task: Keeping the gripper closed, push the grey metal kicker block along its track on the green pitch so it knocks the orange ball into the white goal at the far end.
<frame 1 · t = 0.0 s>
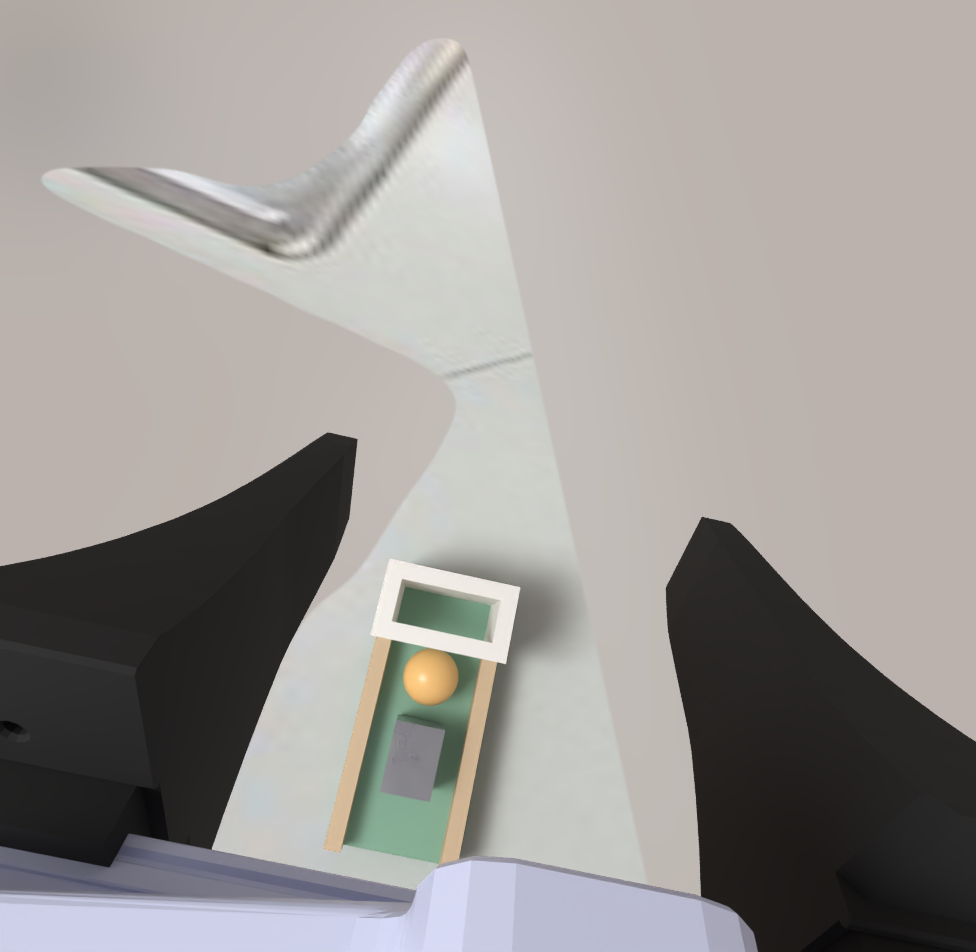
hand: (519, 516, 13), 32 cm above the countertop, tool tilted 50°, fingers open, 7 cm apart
ball: (430, 676, 40), point 3 cm above the countertop, touching pitch
kicker: (413, 756, 39), point 3 cm above the countertop, slide at 0.0 cm
pitch: (422, 708, 42), on the countertop
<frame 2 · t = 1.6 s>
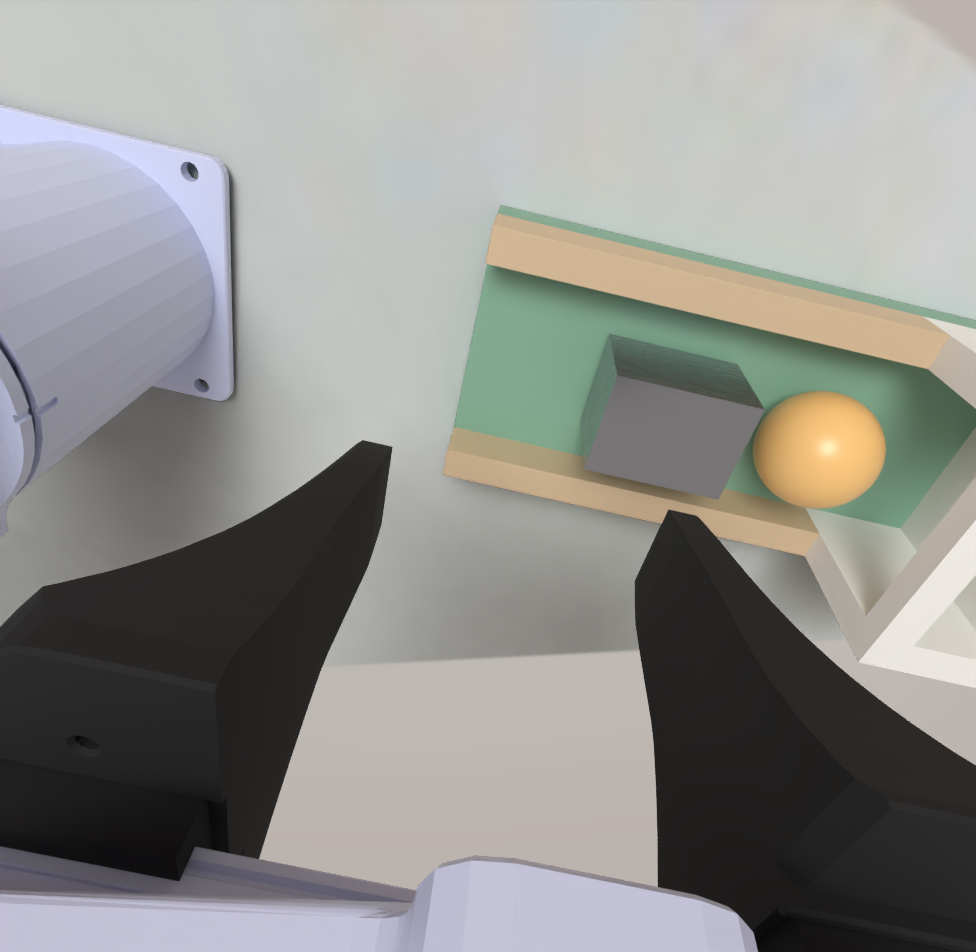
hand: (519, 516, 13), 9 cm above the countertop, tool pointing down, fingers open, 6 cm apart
ball: (816, 450, 19), point 3 cm above the countertop, touching pitch
kicker: (662, 415, 18), point 3 cm above the countertop, slide at 0.0 cm
pitch: (722, 389, 21), on the countertop
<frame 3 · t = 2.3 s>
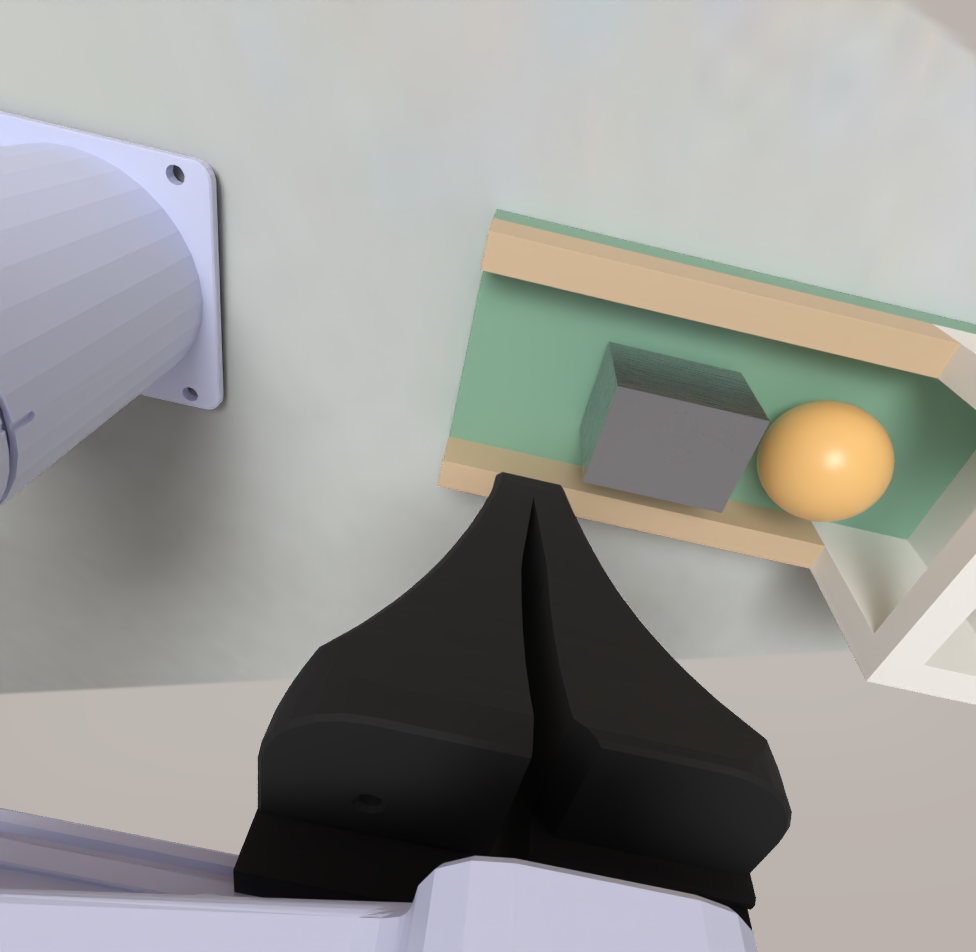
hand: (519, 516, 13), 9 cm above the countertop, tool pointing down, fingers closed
ball: (822, 461, 18), point 3 cm above the countertop, touching pitch
kicker: (664, 425, 18), point 3 cm above the countertop, slide at 0.0 cm
pitch: (724, 398, 20), on the countertop
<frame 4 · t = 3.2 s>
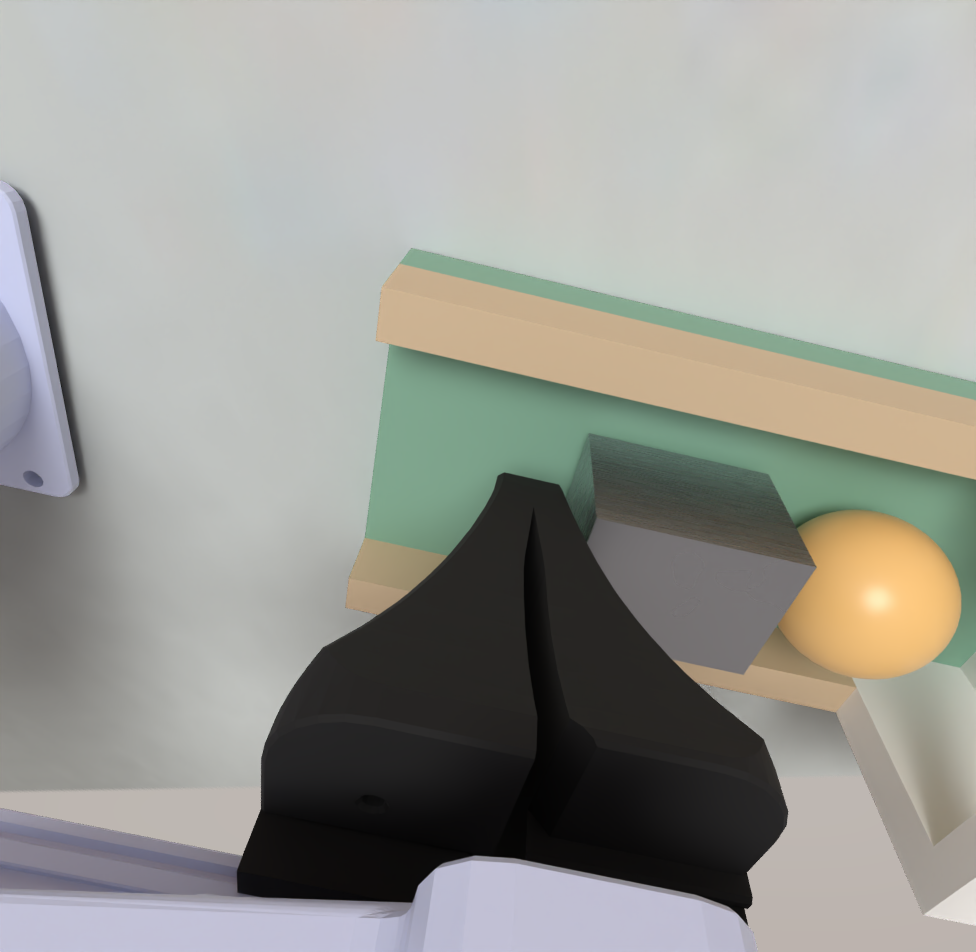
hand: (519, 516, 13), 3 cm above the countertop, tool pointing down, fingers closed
ball: (857, 592, 13), point 3 cm above the countertop, touching pitch
kicker: (664, 550, 13), point 3 cm above the countertop, slide at 0.5 cm, touching gripper
pitch: (724, 489, 16), on the countertop
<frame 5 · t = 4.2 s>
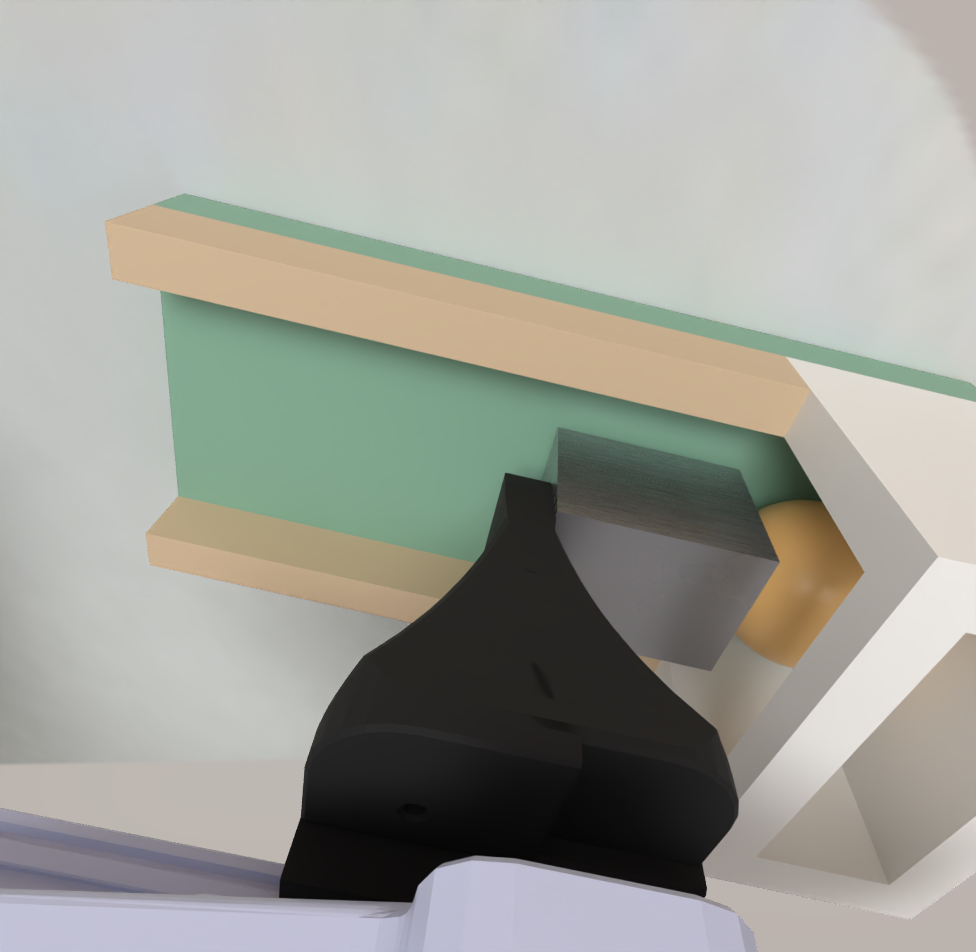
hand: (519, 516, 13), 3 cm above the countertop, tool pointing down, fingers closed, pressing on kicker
ball: (803, 583, 13), point 3 cm above the countertop, tilted 113°, touching kicker, pitch
kicker: (632, 545, 13), point 3 cm above the countertop, slide at 4.6 cm, touching ball, gripper
pitch: (538, 448, 15), on the countertop
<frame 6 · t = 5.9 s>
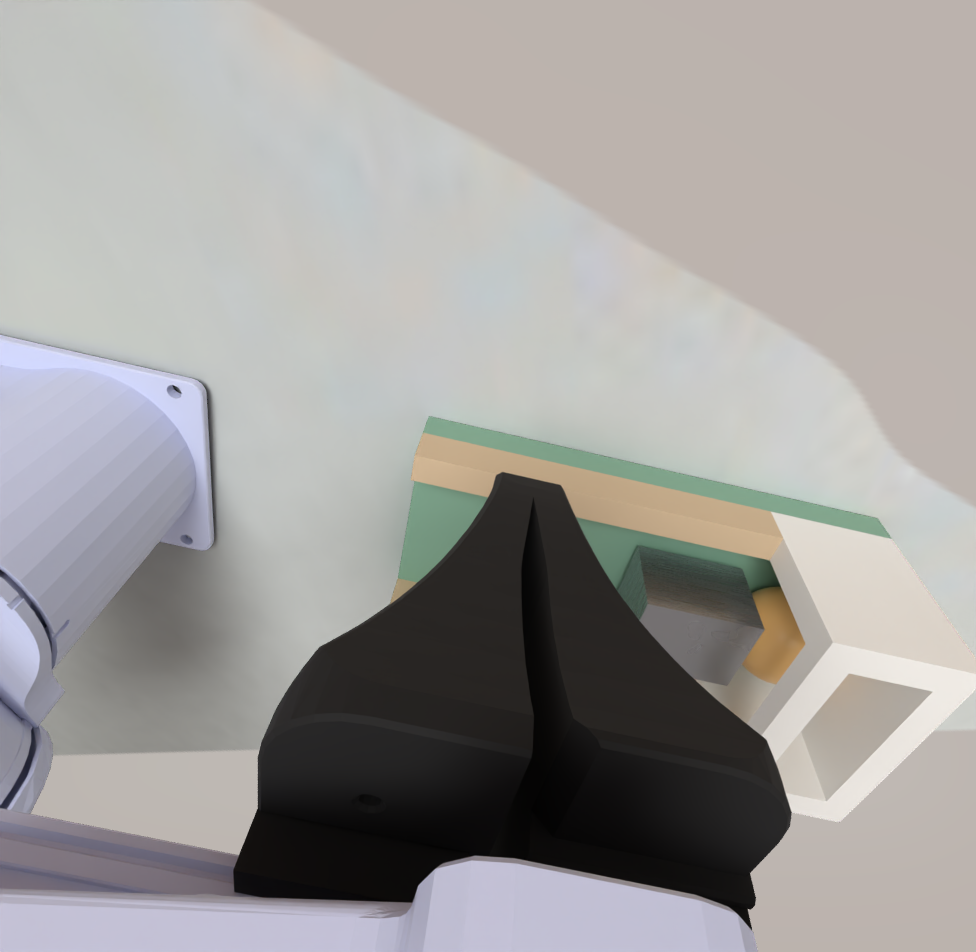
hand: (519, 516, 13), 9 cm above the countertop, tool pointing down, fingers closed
ball: (780, 635, 23), point 3 cm above the countertop, tilted 113°, touching kicker, pitch
kicker: (681, 614, 23), point 3 cm above the countertop, slide at 4.5 cm, touching ball
pitch: (621, 549, 25), on the countertop
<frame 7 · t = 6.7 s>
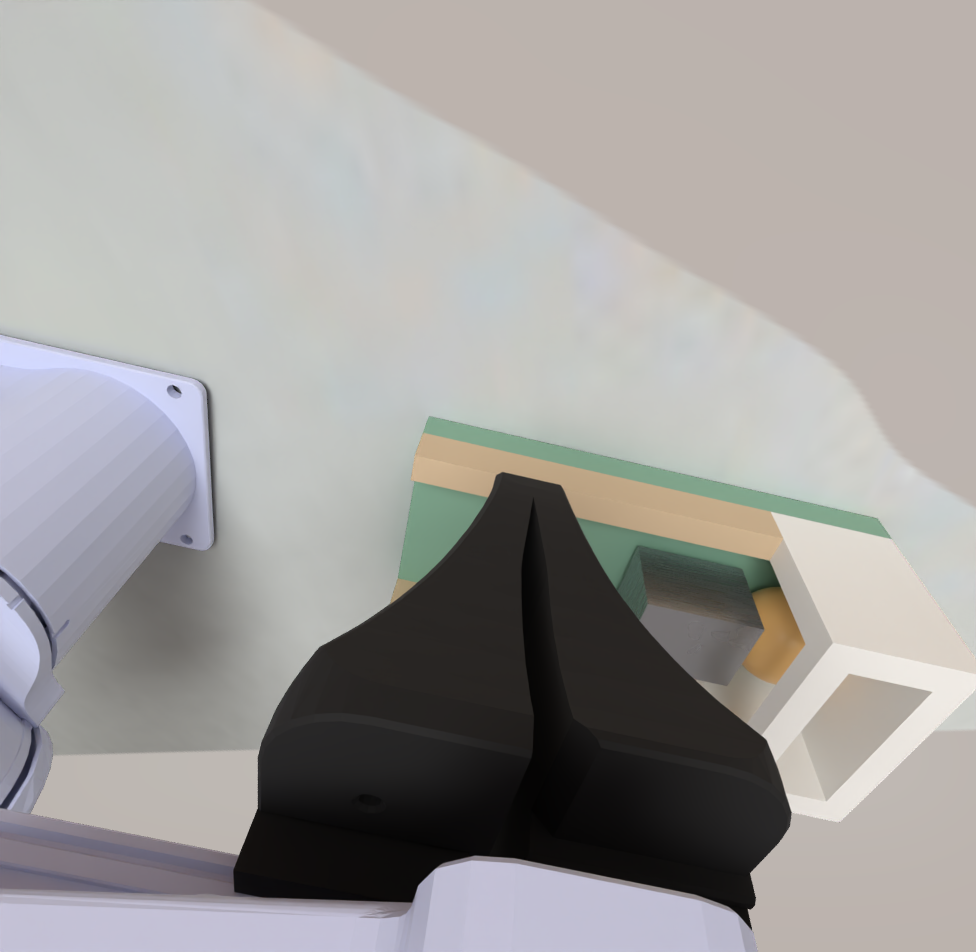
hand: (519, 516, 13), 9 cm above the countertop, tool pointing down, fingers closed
ball: (780, 635, 23), point 3 cm above the countertop, tilted 113°, touching kicker, pitch
kicker: (681, 614, 23), point 3 cm above the countertop, slide at 4.5 cm, touching ball
pitch: (621, 549, 25), on the countertop
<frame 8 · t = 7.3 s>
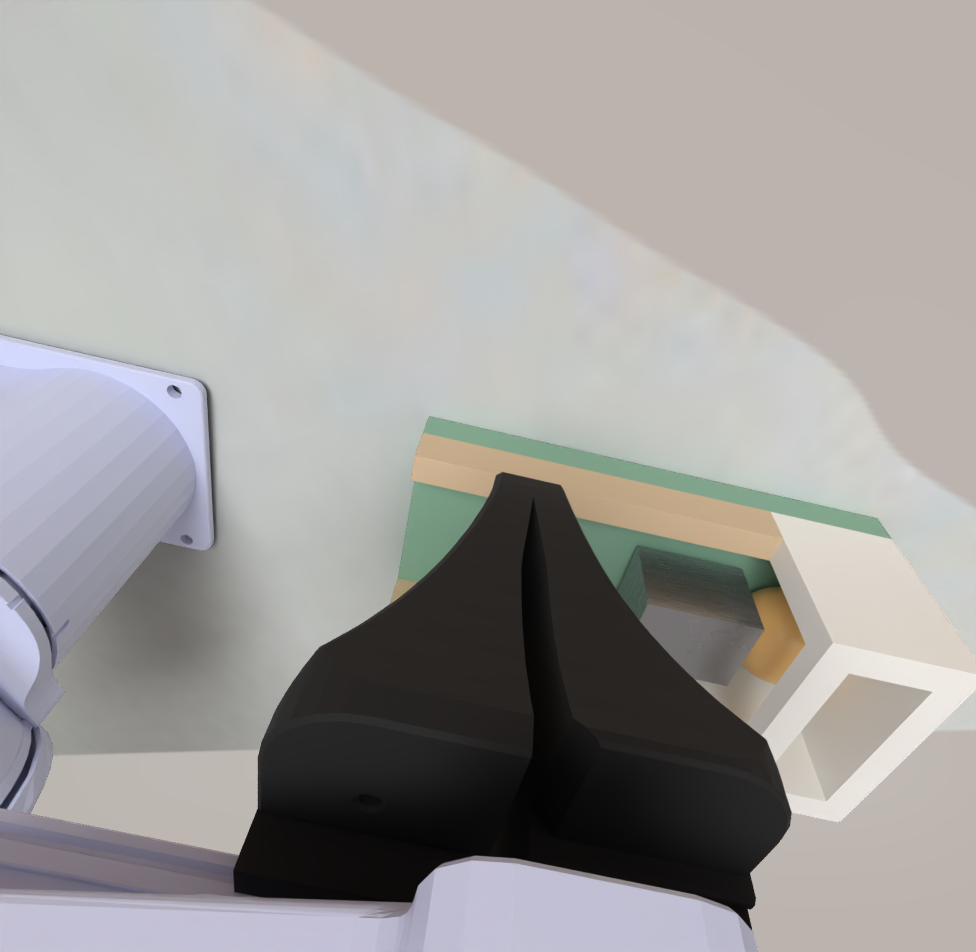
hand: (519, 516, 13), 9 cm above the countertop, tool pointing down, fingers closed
ball: (780, 635, 23), point 3 cm above the countertop, tilted 113°, touching kicker, pitch
kicker: (681, 614, 23), point 3 cm above the countertop, slide at 4.5 cm, touching ball
pitch: (621, 549, 25), on the countertop
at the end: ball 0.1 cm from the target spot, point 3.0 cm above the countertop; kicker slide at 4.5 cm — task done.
